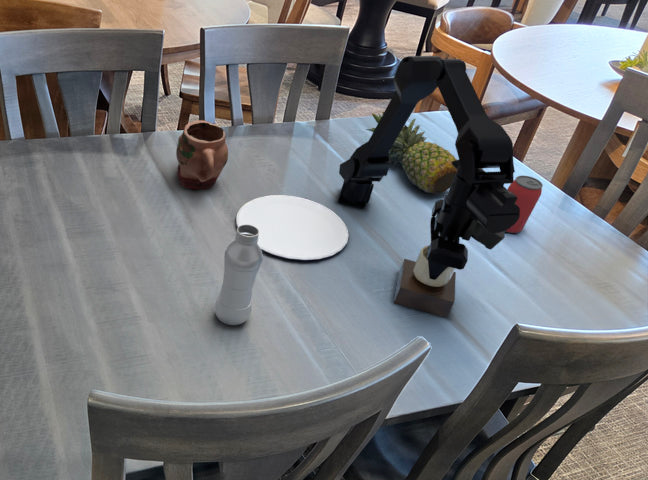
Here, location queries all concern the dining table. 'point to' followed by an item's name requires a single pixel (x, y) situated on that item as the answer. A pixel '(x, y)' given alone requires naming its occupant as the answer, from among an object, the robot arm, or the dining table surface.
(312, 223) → the plate
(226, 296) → the plastic bottle
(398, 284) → the riser
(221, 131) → the decorative planter
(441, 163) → the fruit
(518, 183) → the beer can
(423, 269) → the bowl
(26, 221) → the dining table surface
